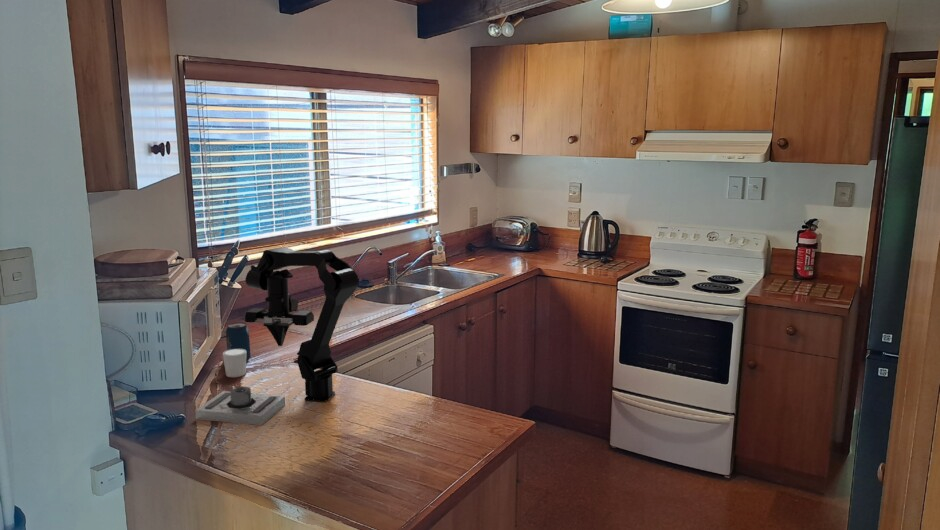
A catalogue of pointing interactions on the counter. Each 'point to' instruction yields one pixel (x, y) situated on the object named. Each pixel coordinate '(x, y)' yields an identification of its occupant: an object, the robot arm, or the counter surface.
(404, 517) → the counter surface
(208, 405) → the jig
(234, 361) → the white cylinder
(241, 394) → the bushing
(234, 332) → the soda can
